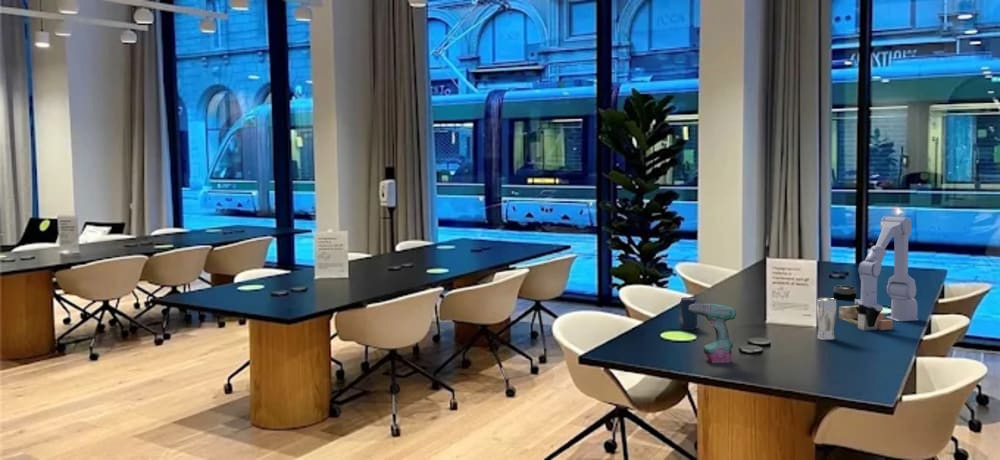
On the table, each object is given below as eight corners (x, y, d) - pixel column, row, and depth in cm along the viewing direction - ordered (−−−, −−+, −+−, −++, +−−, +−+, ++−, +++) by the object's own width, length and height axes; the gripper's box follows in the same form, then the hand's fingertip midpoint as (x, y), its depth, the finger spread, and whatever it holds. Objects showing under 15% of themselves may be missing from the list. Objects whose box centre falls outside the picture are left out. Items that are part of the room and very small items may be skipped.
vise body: (861, 316, 337) (861, 305, 337) (885, 324, 322) (885, 312, 322) (838, 318, 335) (839, 306, 335) (862, 326, 320) (862, 314, 320)
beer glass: (835, 336, 304) (836, 298, 302) (836, 341, 297) (837, 301, 296) (815, 335, 306) (816, 297, 305) (816, 339, 300) (817, 300, 298)
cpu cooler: (855, 289, 370) (832, 287, 375) (855, 301, 371) (831, 299, 376) (858, 285, 379) (835, 284, 384) (857, 297, 380) (834, 296, 385)
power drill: (685, 358, 277) (685, 302, 275) (731, 356, 278) (731, 300, 276) (692, 364, 269) (692, 306, 267) (739, 362, 271) (739, 304, 269)
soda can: (700, 327, 323) (700, 298, 322) (691, 330, 318) (691, 300, 317) (685, 325, 328) (685, 296, 327) (676, 328, 323) (676, 298, 322)
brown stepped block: (882, 324, 322) (882, 312, 321) (895, 328, 314) (895, 316, 314) (865, 325, 320) (865, 313, 320) (878, 330, 313) (878, 317, 312)
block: (871, 327, 318) (871, 312, 317) (877, 329, 314) (878, 314, 314) (857, 328, 317) (858, 313, 316) (864, 330, 313) (864, 315, 312)
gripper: (848, 288, 320) (847, 322, 322) (871, 295, 306) (870, 330, 308) (864, 287, 322) (863, 321, 323) (888, 294, 308) (886, 328, 309)
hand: (867, 325), depth 315 cm, fingers closed on block, 4 cm apart
